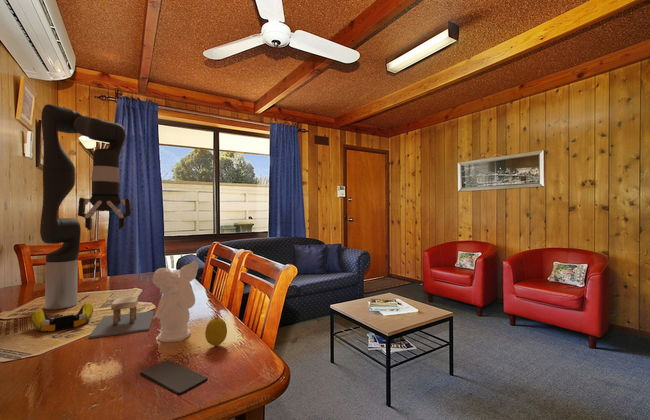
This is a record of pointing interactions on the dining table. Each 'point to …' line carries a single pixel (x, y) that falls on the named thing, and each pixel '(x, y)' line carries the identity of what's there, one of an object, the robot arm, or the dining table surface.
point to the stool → (124, 304)
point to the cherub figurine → (175, 301)
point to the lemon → (216, 331)
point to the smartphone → (173, 377)
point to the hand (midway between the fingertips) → (105, 229)
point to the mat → (123, 325)
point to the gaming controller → (62, 319)
